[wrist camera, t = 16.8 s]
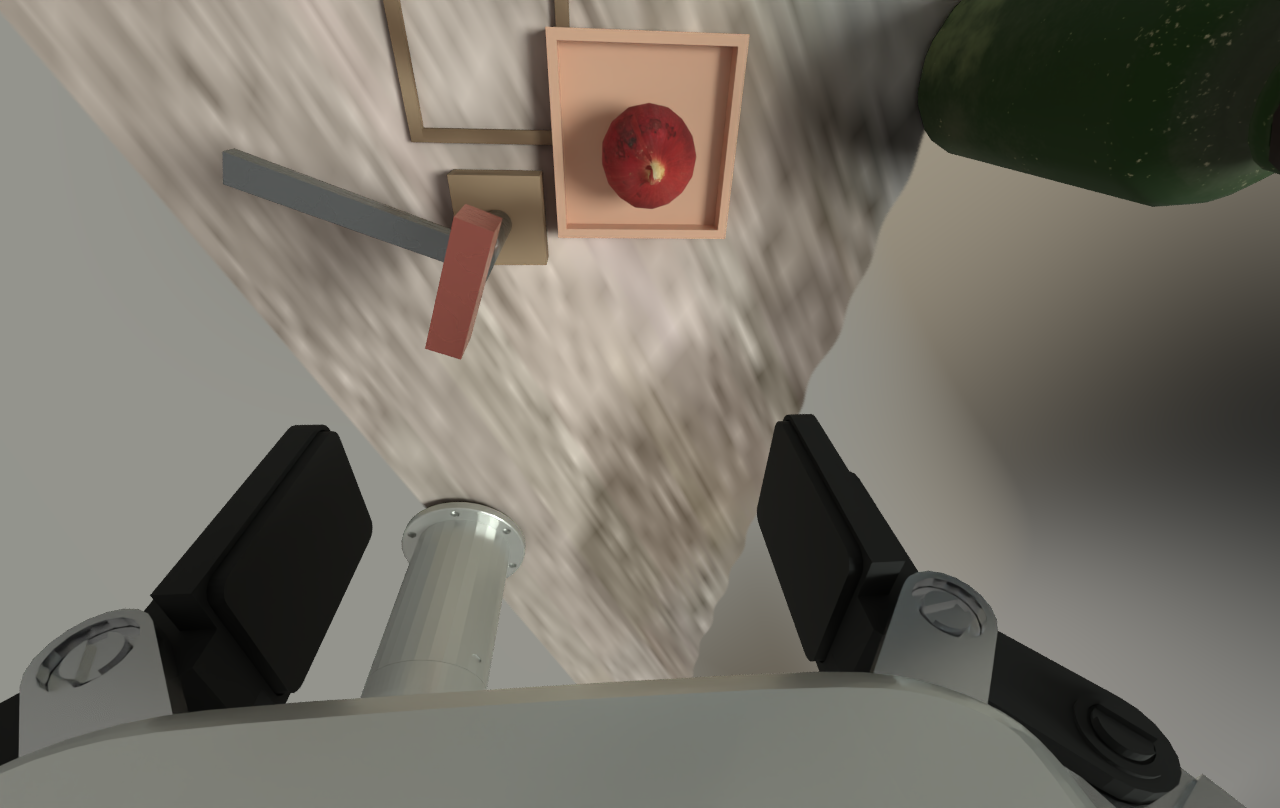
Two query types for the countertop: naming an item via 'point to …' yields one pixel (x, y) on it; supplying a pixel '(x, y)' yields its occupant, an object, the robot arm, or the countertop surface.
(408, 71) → the tan frame with plate
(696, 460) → the countertop surface
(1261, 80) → the green bottle
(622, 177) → the onion
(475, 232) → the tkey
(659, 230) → the dish
